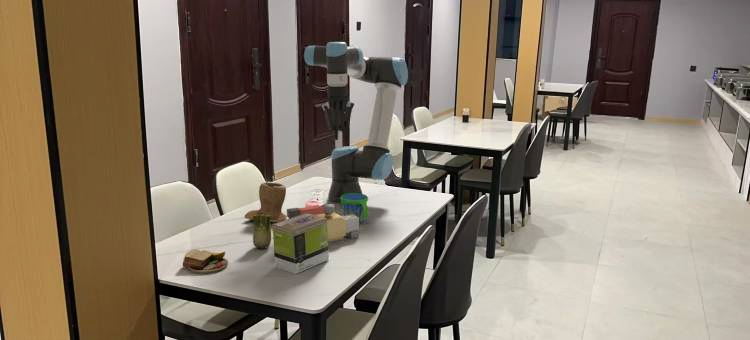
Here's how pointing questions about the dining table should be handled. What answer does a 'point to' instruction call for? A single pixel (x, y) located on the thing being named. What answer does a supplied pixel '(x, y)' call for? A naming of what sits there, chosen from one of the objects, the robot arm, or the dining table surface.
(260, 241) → the fennel bulb
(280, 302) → the dining table surface
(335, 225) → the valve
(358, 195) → the snack cup
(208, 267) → the toy sandwich meal
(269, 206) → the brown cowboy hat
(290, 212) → the lever
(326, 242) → the tea box
